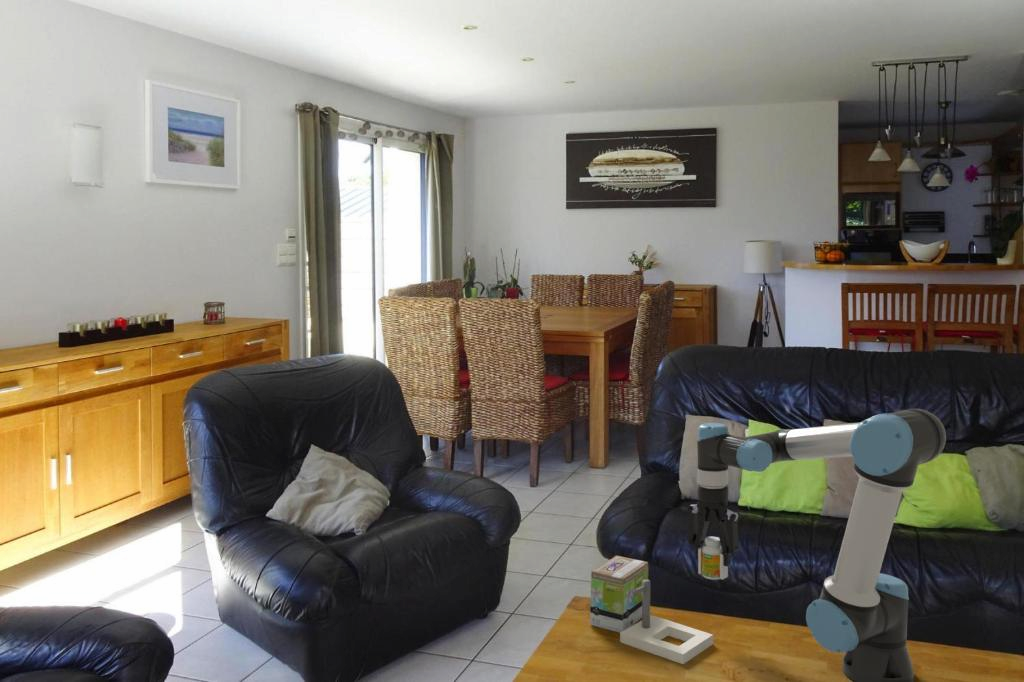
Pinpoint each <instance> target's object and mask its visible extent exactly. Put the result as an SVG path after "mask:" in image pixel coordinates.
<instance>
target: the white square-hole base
mask: <svg viewBox="0 0 1024 682" xmlns="http://www.w3.org/2000/svg"><path fill="white" fill-rule="evenodd" d="M641 592H642V618H641V620H639V622H638V621H637V622H635V623H634V624H633V625H632V626H630V627H629V628H627V629H626V630H624V631H622V632H619V633H620V634H619V635H620V636H619V638H620V639H619V642H620V643H621V644H624V645H627V646H630V647H632V648H636V649H638V650H641V651H644V652H647V653H650V654H652V655H656V656H659V657H660V658H664V659H667V660H670V661H673V662H675V663H678V664H681V665H684V664H686V663H687V662H689V661H690V660H692V659H693V658H695V657H696V656H698V655H699V654H701V653H703V652H704V651H705V650H707V649H708V648H710V647H711V646H713V645H714V634H713V633H712V634H711V633H709V632H706V631H703V630H699V629H696V628H695V627H694V628H693V627H690V626H688V625H684V624H681V623H678V622H674V621H672V620H668V619H665V618H661V617H660V616H655V615H652V614H651V580H650V579H648V580H647V579H645V580H642V586H641V587H639V588H637V589H635V590H634V591H632V594H633V595H634V596H635V595H637V594H639V593H641ZM666 637H671V638H673V639H677V640H680V641H683V643H682V644H680V645H676V644H674V643H671V642H667V641H665V640H663V639H665V638H666Z"/></svg>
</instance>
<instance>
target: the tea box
mask: <svg viewBox="0 0 1024 682" xmlns="http://www.w3.org/2000/svg"><path fill="white" fill-rule="evenodd" d="M590 579H591V580H590V608H589V609H590V612H589V614H590V615H589V625H590V626H594V627H597V628H600V629H605V630H609V631H613V632H616V633H620V632H622V631H624V630H626V629H627V628H629V627H631V626H633V625H634V624H636V623H638V621H640V620H641V619H642V592H641V593H639V594H637V595H635V596H634V595H633V594H632V591H634V590H635V589H637V588H639V587H641V586H642V580H645V579H647V580H649V562H648V561H644V560H640V559H635V558H630V557H625V556H621V555H615V556H613V557H612V558H611V559H609V560H608V561H606V562H604V563H603V564H601V565H599V566H597V567H596V568H594V569H593V570H592V571H591V575H590Z"/></svg>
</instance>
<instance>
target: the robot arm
mask: <svg viewBox="0 0 1024 682" xmlns="http://www.w3.org/2000/svg"><path fill="white" fill-rule="evenodd" d="M946 434H947V432H946V429H945V426H944V424H943V423H942V421H941V420H940V418H938V416H936V415H935V414H934V413H932V412H930V411H929V410H925V409H922V408H921V409H920V408H908V409H907V408H906V409H904V410H898V411H894V412H890V413H889V412H888V413H879V414H876V415H873V416H871V417H869V418H867V419H864V420H862V421H861V422H851V423H841V424H833V425H823V426H822V425H821V426H813V427H812V426H811V427H806V428H805V427H804V428H794V429H790V428H788V429H787V428H784V429H778V430H775V431H770V432H766V433H759V434H756V435H751V436H739V435H733V434H732V435H731V434H730V432H729V426H728V425H727V424H725V423H721V422H720V423H719V422H705V423H702V424H699V426H698V427H697V438H696V439H697V440H696V446H697V447H696V448H697V450H696V451H697V481H696V482H697V484H698V485H697V503H696V504H695V503H693V504H690V505H688V506H687V507H686V509H687V512H688V539H687V540H688V541H687V542H688V544H690V545H693V546H694V547H695V560H697V565H698V566H697V568H698V570H697V571H698V572H697V573H698V574H699V575H702V548H703V547H704V546H705V538H706V537H707V536H706V535H707V532H708V528H709V524H710V522H712V523H714V526H715V528H716V531H717V535H718V538H719V539H720V543H721V545H720V546H721V547H722V551H723V552H722V553H720V579H719V580H722V581H723V580H724V579H726V578H728V577H729V566H731V563H732V561H731V560H732V558H731V557H732V556H731V555H732V554H734V553H735V552H737V551H738V550H739V533H738V532H739V531H738V530H739V529H738V528H739V527H738V525H739V524H738V521H739V518H740V513H739V512H738V511H732V510H730V507H729V505H728V502H729V486H728V484H729V467H732V468H737V469H742V470H744V471H748V472H758V473H759V472H760V473H762V472H764V471H766V470H767V468H768V467H770V466H771V464H774V463H779V462H791V461H799V460H800V461H801V460H815V459H830V458H831V459H832V458H847V457H848V458H849V457H852V460H853V462H854V465H853V471H854V473H855V474H856V475H857V476H858V478H859V479H858V482H857V485H856V489H855V494H854V497H853V500H852V501H853V502H852V504H851V508H850V513H849V516H848V519H847V523H846V527H845V531H844V535H843V537H842V541H841V542H842V543H841V546H840V551H839V554H838V557H837V561H836V565H835V569H834V574H832V575H829V576H828V577H826V578H825V579H824V581H823V586H822V589H821V593H820V596H819V598H816V599H815V600H813V601H812V602H811V603H809V605H808V606H807V608H806V612H805V613H806V614H805V622H806V625H807V628H808V630H809V631H810V632H811V636H812V637H813V639H814V640H815V641H816V642H817V643H818V644H819V645H820V646H821V647H822V648H823V649H826V650H828V652H833V653H844V655H843V657H842V663H841V664H842V666H841V667H842V668H841V669H842V672H843V674H844V675H845V676H846V677H847V678H849V679H850V680H851V681H853V682H914V675H915V671H914V667H913V664H912V659H911V656H910V653H909V650H908V647H907V637H908V618H909V617H908V616H909V613H908V612H909V600H910V598H909V587H908V584H906V582H905V581H903V579H900V578H898V577H895V576H894V575H893V576H892V575H889V574H886V573H881V569H882V564H883V562H884V558H885V556H886V555H885V554H886V552H887V547H888V543H889V540H890V536H891V533H892V529H893V527H894V522H895V518H896V515H897V512H898V508H899V505H900V501H901V499H902V498H901V497H902V494H903V491H904V490H907V489H909V488H911V487H913V484H914V481H915V478H916V474H917V471H918V467H919V465H923V464H927V463H929V462H931V461H934V460H935V459H936V458H937V457H939V455H941V453H942V452H943V450H944V448H945V445H946V442H947V435H946ZM698 513H700V515H701V516H700V519H699V514H698ZM726 516H727V520H728V522H727V520H726ZM698 523H699V524H698ZM727 523H728V524H727ZM727 525H728V527H727ZM727 528H728V530H727Z"/></svg>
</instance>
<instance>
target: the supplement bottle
mask: <svg viewBox="0 0 1024 682" xmlns="http://www.w3.org/2000/svg"><path fill="white" fill-rule="evenodd" d="M704 543H705V544H704V545H703V546H704V547H703V546H702V547H703V548H702V574H701V575H702V576H703V577H704V578H705V579H707V580H715V581H716V580H721V579H720V553H722V552H723V551H722V547H721V543H720V539H719V536H705V540H704Z"/></svg>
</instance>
